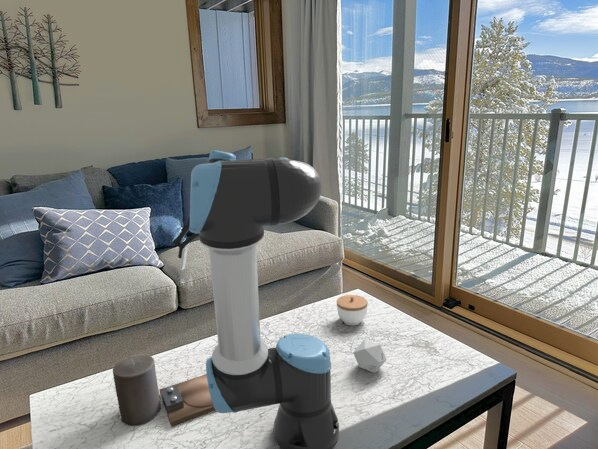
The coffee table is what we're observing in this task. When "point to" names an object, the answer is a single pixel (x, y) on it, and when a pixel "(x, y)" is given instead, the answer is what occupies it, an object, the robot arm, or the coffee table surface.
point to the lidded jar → (352, 309)
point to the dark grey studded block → (172, 399)
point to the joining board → (192, 400)
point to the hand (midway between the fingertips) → (204, 273)
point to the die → (369, 356)
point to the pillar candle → (137, 389)
